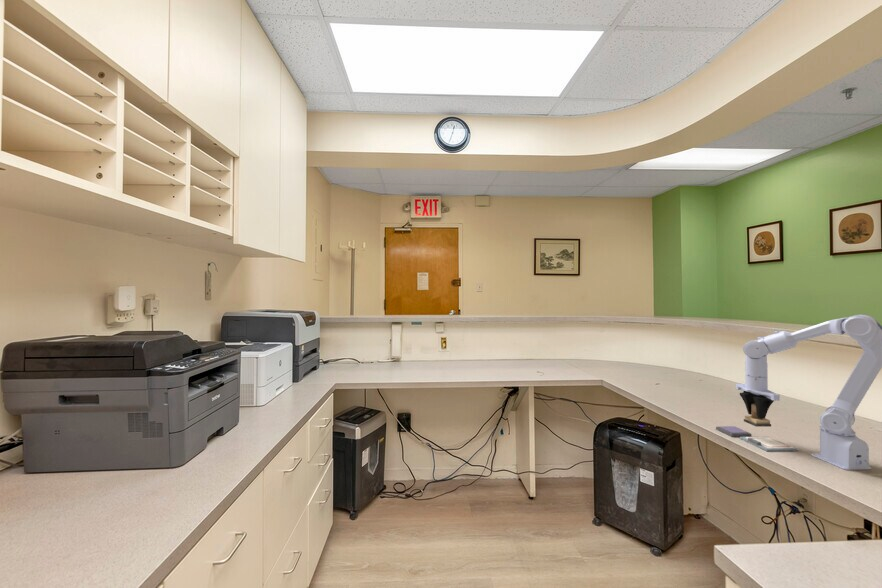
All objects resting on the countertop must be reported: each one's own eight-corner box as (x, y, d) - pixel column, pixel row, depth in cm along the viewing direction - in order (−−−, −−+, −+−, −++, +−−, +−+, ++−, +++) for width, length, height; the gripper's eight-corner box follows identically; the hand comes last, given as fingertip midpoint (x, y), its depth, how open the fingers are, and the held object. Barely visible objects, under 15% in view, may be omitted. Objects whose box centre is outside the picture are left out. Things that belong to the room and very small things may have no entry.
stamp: (771, 426, 121) (771, 406, 121) (755, 426, 122) (755, 406, 122) (758, 421, 126) (758, 402, 126) (743, 421, 127) (743, 402, 127)
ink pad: (751, 436, 127) (751, 433, 127) (731, 436, 127) (731, 433, 127) (734, 429, 134) (734, 425, 134) (716, 429, 134) (716, 426, 134)
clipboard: (797, 450, 116) (797, 446, 116) (766, 451, 116) (766, 446, 116) (768, 438, 126) (768, 434, 126) (739, 438, 126) (739, 434, 126)
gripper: (727, 371, 131) (727, 409, 131) (764, 381, 117) (764, 423, 117) (746, 371, 131) (746, 409, 131) (785, 380, 117) (786, 423, 117)
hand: (756, 416), depth 124 cm, fingers closed on stamp, 3 cm apart
